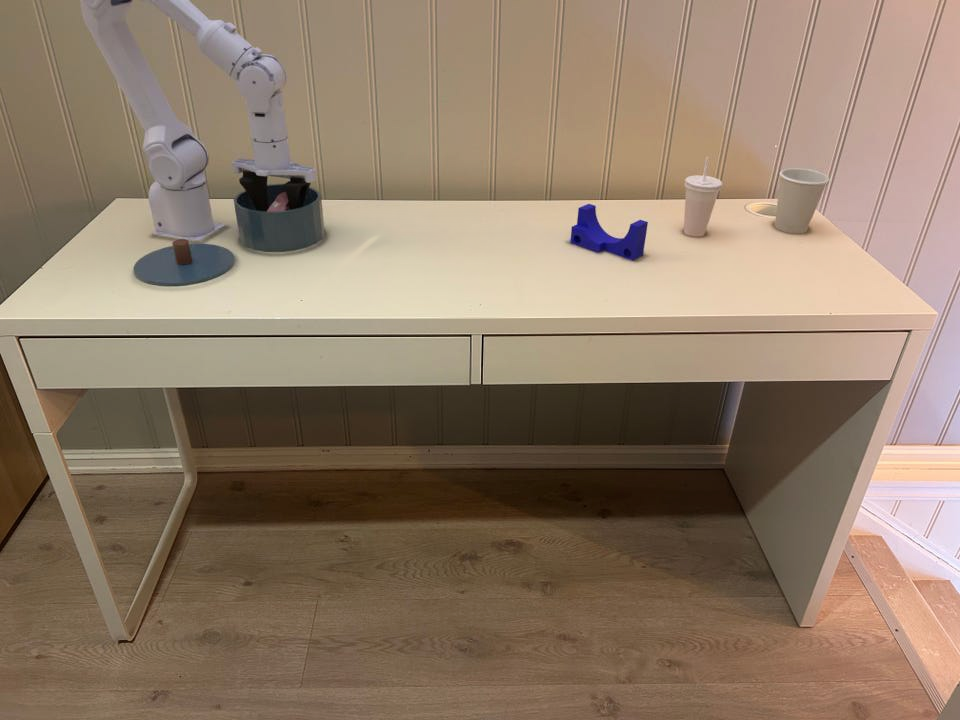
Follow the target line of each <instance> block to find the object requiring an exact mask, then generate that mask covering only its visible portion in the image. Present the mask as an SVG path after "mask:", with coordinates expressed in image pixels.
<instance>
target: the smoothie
mask: <svg viewBox="0 0 960 720" xmlns="http://www.w3.org/2000/svg"><path fill="white" fill-rule="evenodd" d="M704 161H705V162H704V168H703V173H702V175H698V174H697V175H689V176H687V177H686V178H685V179H684V183H683V185H684V187H685V199H684V217H683V219H684V220H683V233H684V234H685V235H686V236H689V237H693V238H694V237H696V238H698V237H704V236H705V234H706V231H707V228H708V226H709V222H710V219H711V216H712V213H713V210H714V207H715V204H716V201H717V198H718V195H719V192H720V191H721V190H722V187H723V182H722V181H721V180H720V179H719V178H717V177H713V176H708V175H707V174H708V168H709V163H710V156H706V157H705V160H704Z"/></svg>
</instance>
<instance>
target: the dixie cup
mask: <svg viewBox="0 0 960 720" xmlns="http://www.w3.org/2000/svg"><path fill="white" fill-rule="evenodd" d="M779 176H780V177H779V183H778V185H779V186H778V193H777V202H776V212H775V220H774V228H775V229H776V230H779V231H781V232H785V233H788V234H804V233H807V231H808V228H809V227H810V224H811V221H812V219H813V217H814V214H815V211H816V210H817V207H818V205H819V202H820V200H821V198H822V195H823V193H824V190H825V188H826V186H827V183H828V182H829V181H830V177H829V176H828V175H827V174H825V173H823V172H821V171H817V170H814V169H809V168H802V167H791V168H785V169H782V170H781V171H780V172H779Z"/></svg>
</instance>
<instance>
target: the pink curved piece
mask: <svg viewBox="0 0 960 720" xmlns="http://www.w3.org/2000/svg"><path fill="white" fill-rule="evenodd" d="M287 210H290V205H289V201H288V197H287V194H286V192H284V193H281V194H279V195H278V196H277V197H276V199H275V201H274V202H273V203H272V205H271V206H270V207H269V209H268V210H267V211H268V212H276V211H287Z"/></svg>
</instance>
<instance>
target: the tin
mask: <svg viewBox="0 0 960 720" xmlns="http://www.w3.org/2000/svg"><path fill="white" fill-rule="evenodd" d="M283 184H284V183H272V184H267V197H268V205H269V207H270V206H271V205H272V203H273V202H274V201H275V199H276V197H277V196H278V195H279V194H281V193H284V192H285V189H284V187H283ZM322 202H323V201H322V195H321V192H320V191H319V190H318V189H316V188H314V187H311V186H309V189H308V191H307V194H306V197H305V201H304V206H303V207H301V208H297V209H292V210H287V211H276V212H268V211H257V210H256V208H255V206H254V204H253V202H252V200H251V198H250V196H249V195H248V193H247V192H246V190H245V189H244V190H243V191H241V192H239V193H237V194H236V195H235V197H233V205H234V211H235V217H236V223H237V229H238V236H239V242H240V244H242V245H243V246H244V247H245V248H248V249H250V250H253V251H257V252H264V253H285V252H286V253H287V252H293V251H294V252H295V251H299V250H302V249H303V250H304V249H306V248H309V247H312V246H313V245H316V244H318V243H319V242H321V240H323V239H324V237H325V234H326V233H325V232H326V231H325V222H324V213H323V203H322Z"/></svg>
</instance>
